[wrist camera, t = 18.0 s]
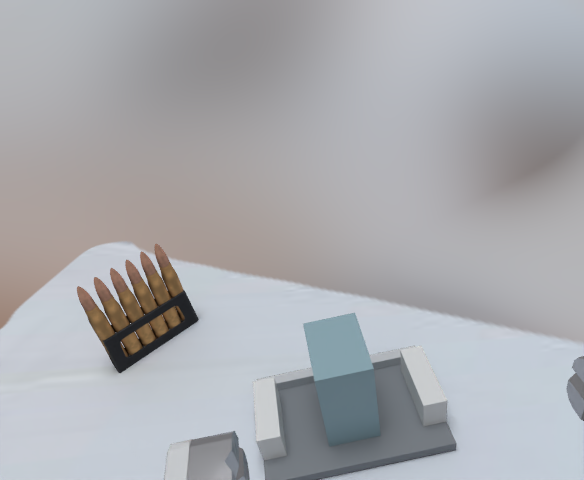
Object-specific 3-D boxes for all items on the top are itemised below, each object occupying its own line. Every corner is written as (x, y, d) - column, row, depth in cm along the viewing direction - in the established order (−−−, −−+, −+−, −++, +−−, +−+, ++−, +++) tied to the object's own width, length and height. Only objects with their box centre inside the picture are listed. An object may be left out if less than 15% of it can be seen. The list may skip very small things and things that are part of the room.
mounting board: (268, 489, 37) (257, 465, 35) (260, 389, 46) (251, 364, 43) (455, 449, 37) (457, 422, 35) (414, 357, 46) (413, 330, 43)
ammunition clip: (191, 313, 57) (159, 237, 50) (199, 320, 56) (167, 242, 49) (113, 364, 52) (66, 287, 45) (119, 373, 51) (71, 295, 44)
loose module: (329, 446, 38) (314, 381, 33) (317, 388, 43) (303, 323, 38) (380, 435, 38) (373, 368, 33) (363, 378, 43) (354, 312, 38)
